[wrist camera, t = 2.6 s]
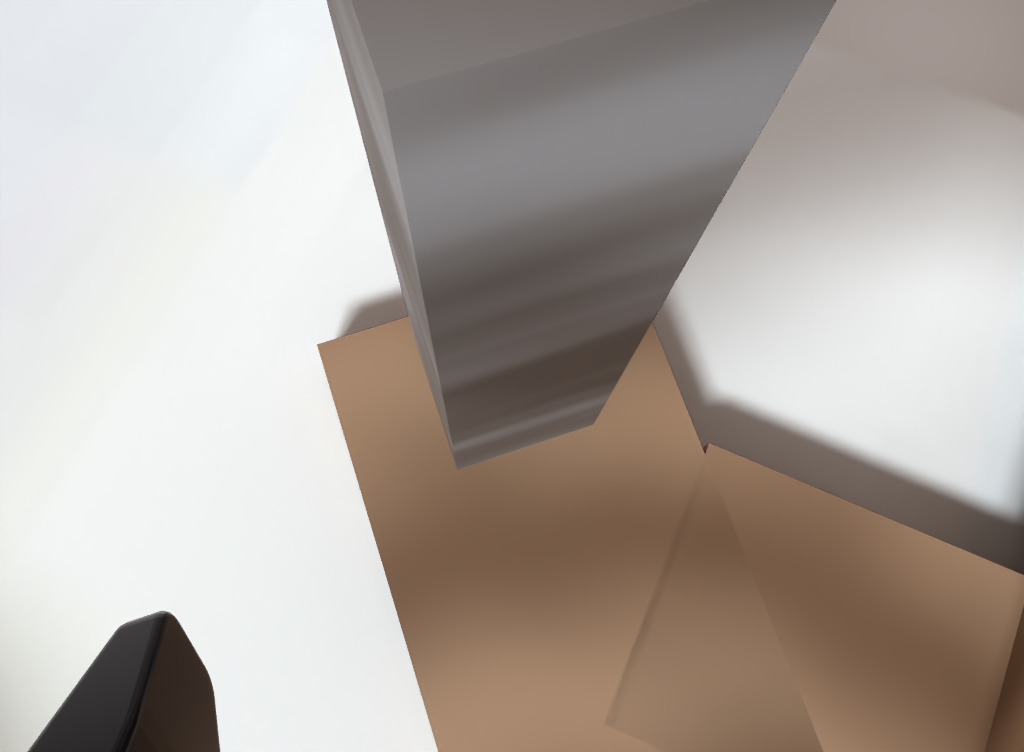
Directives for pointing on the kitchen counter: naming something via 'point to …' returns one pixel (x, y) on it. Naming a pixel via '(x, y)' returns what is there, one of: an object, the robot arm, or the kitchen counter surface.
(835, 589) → the pull board
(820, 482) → the kitchen counter surface
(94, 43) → the kitchen counter surface
